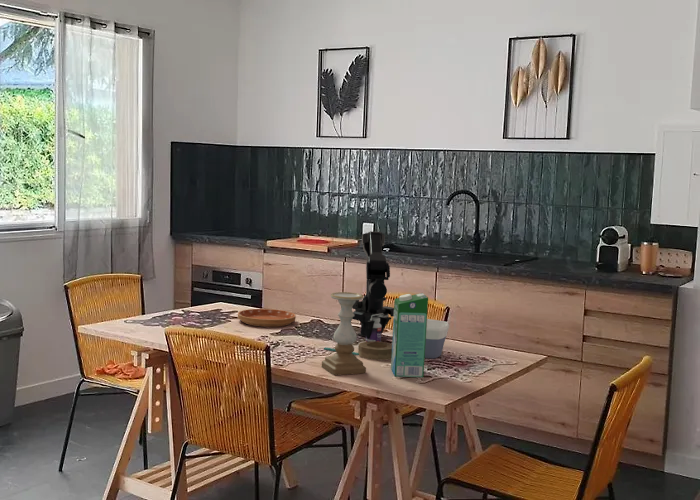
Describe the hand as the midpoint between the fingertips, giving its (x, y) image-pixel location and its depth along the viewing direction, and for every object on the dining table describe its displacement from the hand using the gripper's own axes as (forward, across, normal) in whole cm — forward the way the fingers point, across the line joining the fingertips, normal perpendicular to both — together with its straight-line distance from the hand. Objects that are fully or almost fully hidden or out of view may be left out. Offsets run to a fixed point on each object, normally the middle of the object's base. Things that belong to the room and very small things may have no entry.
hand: (373, 337), depth 288 cm
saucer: (+4, +3, -53) cm, 53 cm away
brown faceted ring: (+3, +10, +10) cm, 14 cm away
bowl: (+3, -5, +19) cm, 20 cm away
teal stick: (+3, +16, 0) cm, 16 cm away
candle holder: (+3, +33, +16) cm, 37 cm away
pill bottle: (+3, 0, 0) cm, 3 cm away
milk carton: (+3, +20, +31) cm, 37 cm away
